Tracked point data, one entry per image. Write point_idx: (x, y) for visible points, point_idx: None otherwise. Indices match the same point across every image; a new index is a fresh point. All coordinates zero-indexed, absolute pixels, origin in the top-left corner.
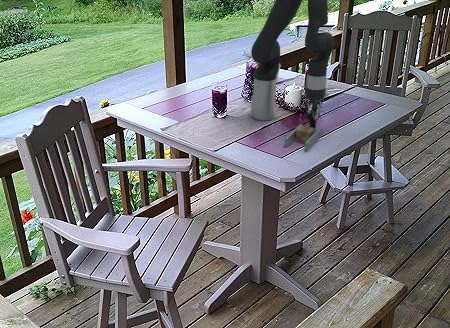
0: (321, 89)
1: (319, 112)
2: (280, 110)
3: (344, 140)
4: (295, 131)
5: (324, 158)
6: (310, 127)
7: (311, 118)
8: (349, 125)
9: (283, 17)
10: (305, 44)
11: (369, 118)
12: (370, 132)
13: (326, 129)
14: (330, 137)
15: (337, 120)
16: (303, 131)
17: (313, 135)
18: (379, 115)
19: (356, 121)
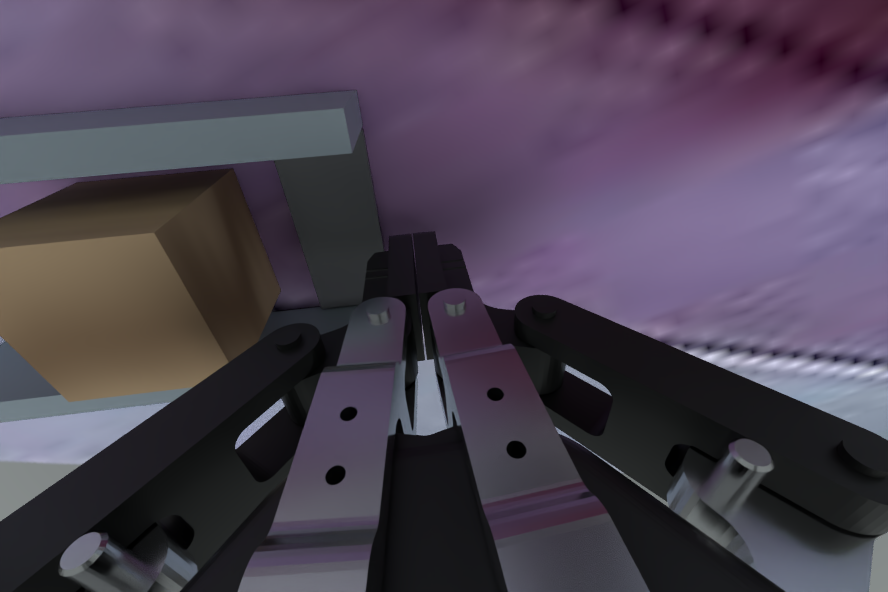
0: None
1: (578, 400)
2: None
3: (428, 432)
4: (27, 180)
5: (80, 459)
6: (218, 354)
7: (283, 397)
8: None
9: None
10: None
11: (834, 403)
12: (610, 465)
13: (566, 288)
14: (422, 366)
15: (795, 279)
16: (17, 345)
17: (157, 392)
18: (883, 418)
19: (778, 374)
